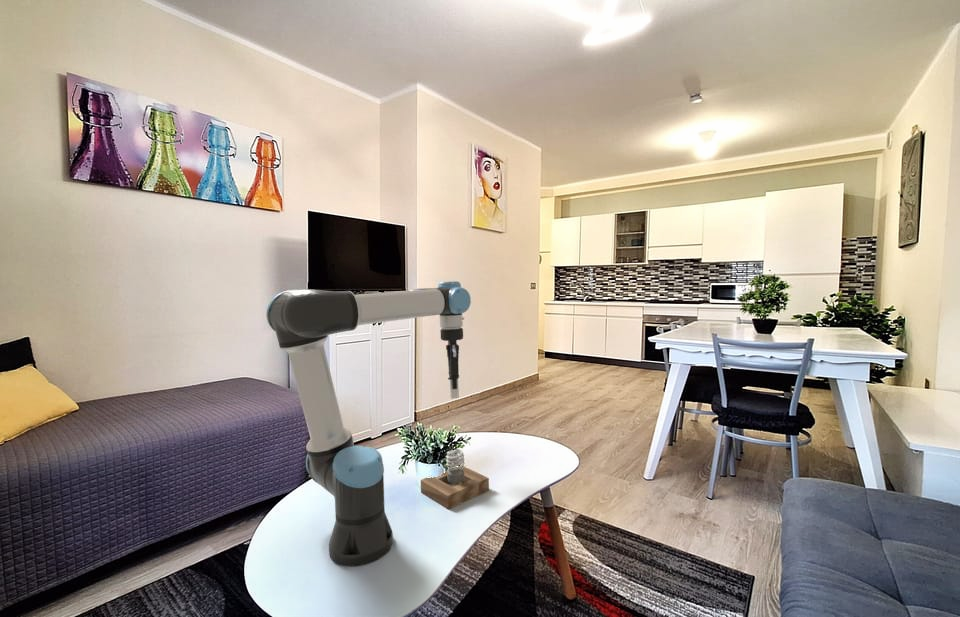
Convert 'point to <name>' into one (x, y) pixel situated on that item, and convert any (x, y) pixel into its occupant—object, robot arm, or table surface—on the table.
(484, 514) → the table surface
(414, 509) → the table surface
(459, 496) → the socket board
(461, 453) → the light bulb
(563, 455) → the table surface
